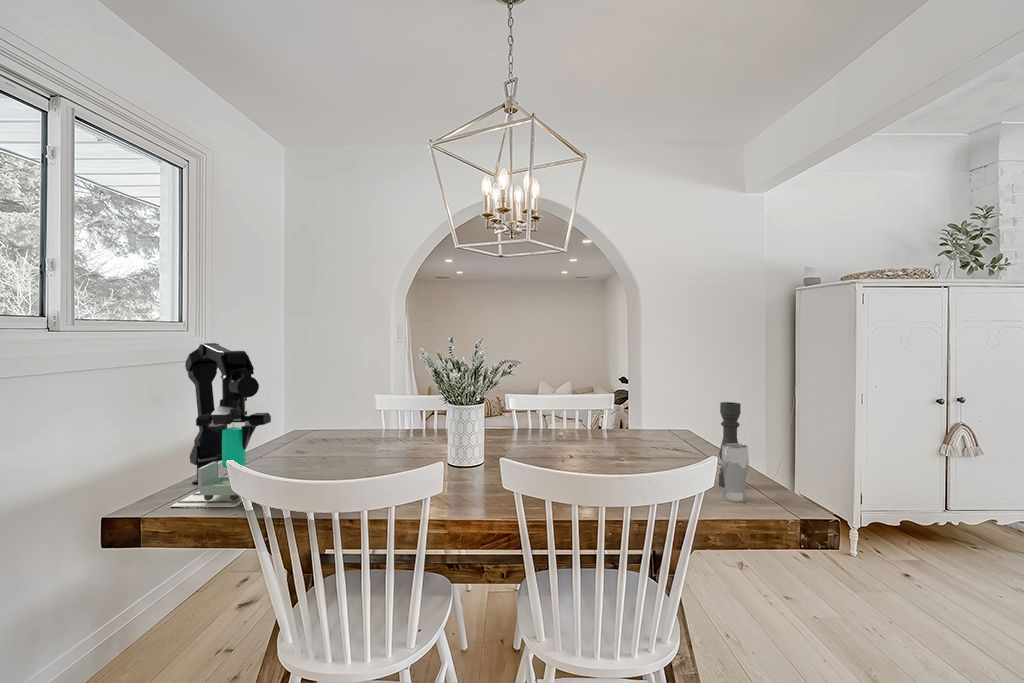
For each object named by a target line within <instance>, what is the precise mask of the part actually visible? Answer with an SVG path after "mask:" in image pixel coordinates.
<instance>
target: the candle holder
mask: <svg viewBox="0 0 1024 683" xmlns="http://www.w3.org/2000/svg"><path fill="white" fill-rule="evenodd" d="M719 404H720V408H719V410H720V412H719V413H720V414H721V415H720V416H721V418H722V420H723V421H722V422H720V425H721V426H722V428H723V429H722V430H723V431H722V432H723V433H722V435H723V436H722V441H721V445H720V449H719V453H718V456H719V458H720V460H721V461H722V445H723V444H725V443H737V444H739V441H738V440H739V439H738V428H739V427H740V423H739V422H738V420H739V418H740V415H741V403H740V402H729V401H723V402H719ZM718 486H720V487H721V488H723V489H724V488H725V483H724V476H723V471H722V466H721V467H720V468H719V473H718Z"/></svg>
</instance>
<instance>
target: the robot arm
mask: <svg viewBox="0 0 1024 683" xmlns="http://www.w3.org/2000/svg"><path fill="white" fill-rule="evenodd" d="M184 364H185V365H184V366H185V369H186V370H185V371H186V372H187V374H188V375H187V376H188V379H190V381H191V382H192V383H193V384H194V387H195V396H196V398H195V399H196V407H197V417H196V419H195V426H196V427H198V430H199V431H198V433H197V435H196V436H195V438H194V442H193V443H194V445H193V447H192V449H191V452H190V454H189V461H190V464H192V465H194V466H196V480H194V481H191V484H192V483H198V468H201V467H203V466H205V465H207V464H209V463H212V462H217V477H219V462H221V461H222V430H223V429H226V428H228V425H231V424H233V423H244V425H243V426H241V427H240V428H242V430H243V450H244V449H245V450H246V449H247V447H248V445H249V442H250V440H251V437H252V435H253V433H254V432H255V430H256V428H257V427H258V426H264V425H267V424H269V423H271V422H272V416H271V414H270V413H269V412H255V413H252V414H250V415H248V411H247V410H246V402H247V401H248V399H247V398H251V397H254V396H255V395H256V394H257V393H258V391H259V388H260V385H259V382H258V380H257V379H256V378H255V377H252V375H254V374H255V372H254V365H253V364H252V361H251V359H250V357H249V355H248V353H247V352H246V351H245V350H230V349H228V348H226V347H224V346H222V345H220V344H219V343H216V342H213V343H212V342H211V343H209V342H206V343H201V344H199V346H198V348H197V349H195V350H193V351H192V352H191V353H189V354H188V356H187V358H186V360H185V363H184ZM218 370H219V371H220V373H221V375H220V378H221V382H222V384H221V388H222V393H221V396H222V399H219V406H218V407H216V408H215V400H214V389H213V382H214V379H215V378H216V376H217V374H218Z"/></svg>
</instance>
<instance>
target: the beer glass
mask: <svg viewBox="0 0 1024 683" xmlns="http://www.w3.org/2000/svg"><path fill="white" fill-rule="evenodd" d="M721 467H722V471H723V476H724V483H725V488H724V487H723V494H722V498H723V499H724V500H725V501H727V502H733V503H745V502H746V501H747V494H746V481H747V475H748V471H749V446H748V445H746V444H742V443H738V444H737V443H725V444H723V445H722V460H721Z"/></svg>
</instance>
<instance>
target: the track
mask: <svg viewBox="0 0 1024 683" xmlns="http://www.w3.org/2000/svg"><path fill="white" fill-rule="evenodd" d="M239 503H241V499H240V497H239V498H238V499H237V500H235V501H233V500H231V499H230V495H213V498H212V499H211V500H209V501H207V500H205V499H204V495H200V491H196V492H194V493H193V494H191V495H189V496H186V497H185V498H183V499H181V500H180V501H177V502H175V503H173V504H172V505H170V506H169V507H182V508H181V509H189V508H190V509H197V507H199V508H198V509H201V508H200V507H203V508H204V507H207V508H208V507H235V506H236V507H238V506H239V505H240V504H239ZM238 504H239V505H238ZM241 504H242V503H241ZM237 505H238V506H237ZM183 507H184V508H183ZM187 507H188V508H187ZM236 507H235V508H236ZM203 508H202V509H203ZM204 509H205V508H204Z"/></svg>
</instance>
